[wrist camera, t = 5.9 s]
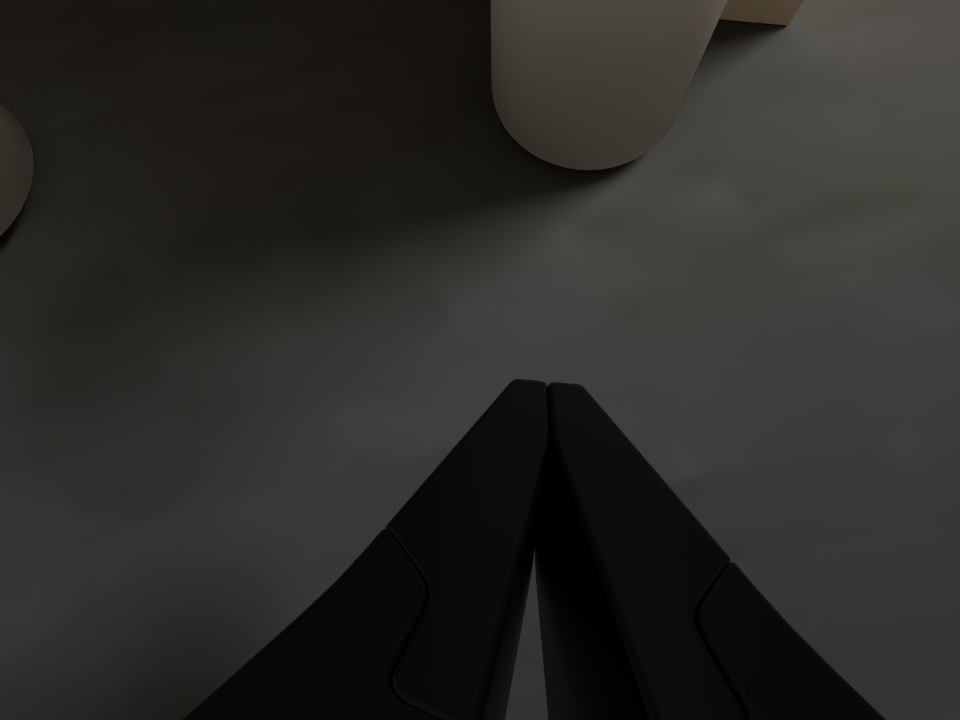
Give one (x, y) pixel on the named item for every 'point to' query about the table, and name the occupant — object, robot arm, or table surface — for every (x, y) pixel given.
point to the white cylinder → (595, 73)
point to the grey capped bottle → (13, 167)
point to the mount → (761, 11)
